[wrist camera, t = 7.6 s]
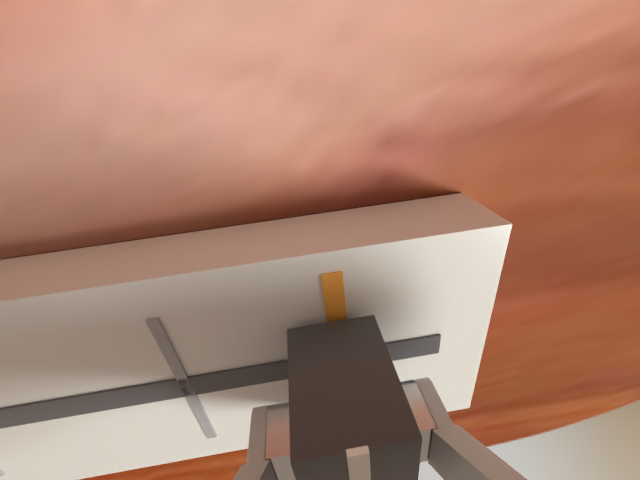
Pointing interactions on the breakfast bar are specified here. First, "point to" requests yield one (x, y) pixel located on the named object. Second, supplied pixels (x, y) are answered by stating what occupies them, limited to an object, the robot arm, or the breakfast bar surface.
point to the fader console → (228, 327)
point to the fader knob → (348, 405)
